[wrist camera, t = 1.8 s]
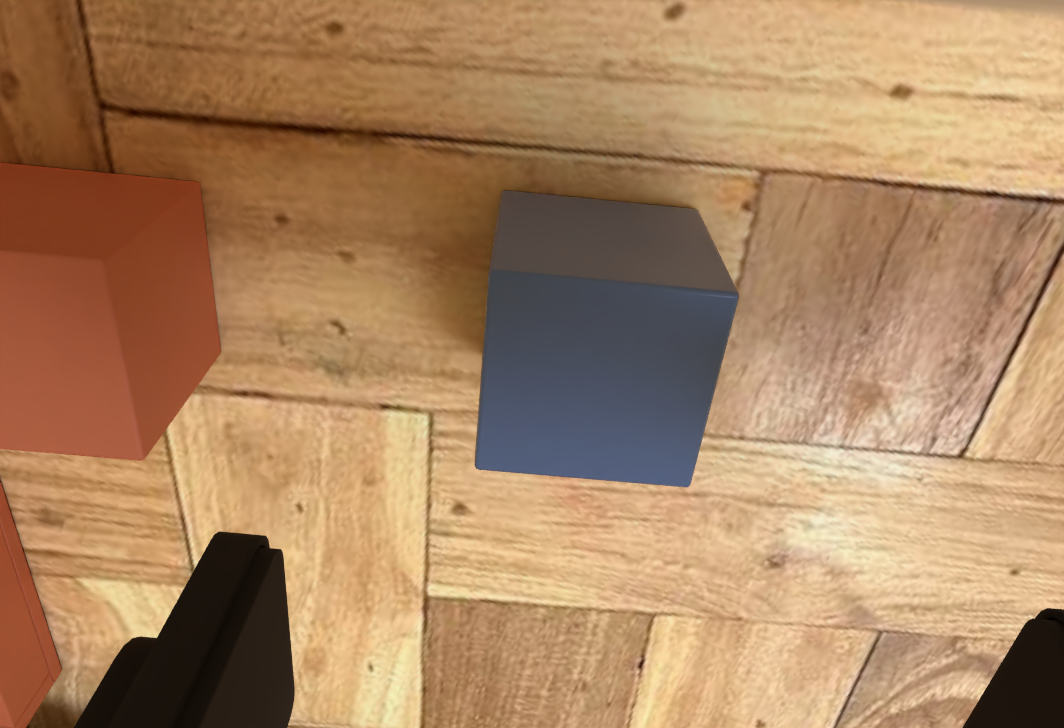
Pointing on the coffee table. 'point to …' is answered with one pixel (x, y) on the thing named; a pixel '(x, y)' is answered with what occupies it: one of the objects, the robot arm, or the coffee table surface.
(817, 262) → the coffee table surface
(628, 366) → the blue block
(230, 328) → the coffee table surface
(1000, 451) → the coffee table surface
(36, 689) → the dish
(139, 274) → the terracotta block
